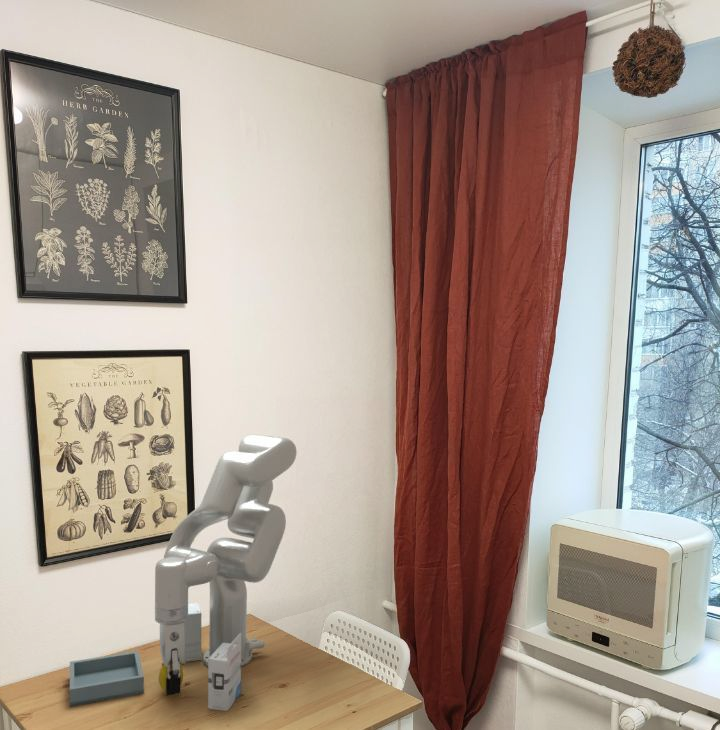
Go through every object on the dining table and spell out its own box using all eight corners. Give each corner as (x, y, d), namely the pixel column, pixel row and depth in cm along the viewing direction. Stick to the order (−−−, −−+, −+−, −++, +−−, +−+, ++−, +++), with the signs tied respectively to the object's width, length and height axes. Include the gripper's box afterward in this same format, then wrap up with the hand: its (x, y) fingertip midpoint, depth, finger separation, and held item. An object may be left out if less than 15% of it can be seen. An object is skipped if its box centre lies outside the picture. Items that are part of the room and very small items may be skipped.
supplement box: (198, 647, 183) (199, 601, 182) (201, 660, 176) (202, 612, 175) (170, 651, 180) (170, 604, 180) (172, 664, 173) (172, 615, 173)
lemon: (161, 701, 156) (161, 667, 156) (156, 689, 161) (156, 656, 160) (185, 695, 158) (185, 662, 158) (180, 684, 163) (180, 652, 163)
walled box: (138, 666, 172) (138, 650, 172) (143, 693, 159) (143, 676, 159) (69, 677, 166) (69, 661, 165) (69, 706, 153) (69, 689, 153)
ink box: (222, 690, 161) (222, 629, 161) (241, 692, 160) (242, 631, 160) (207, 709, 153) (207, 645, 152) (227, 712, 152) (228, 647, 151)
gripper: (194, 623, 152) (193, 701, 153) (182, 596, 168) (181, 666, 169) (159, 629, 149) (158, 708, 150) (150, 600, 165) (150, 672, 166)
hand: (171, 685), depth 160 cm, fingers open, 6 cm apart
